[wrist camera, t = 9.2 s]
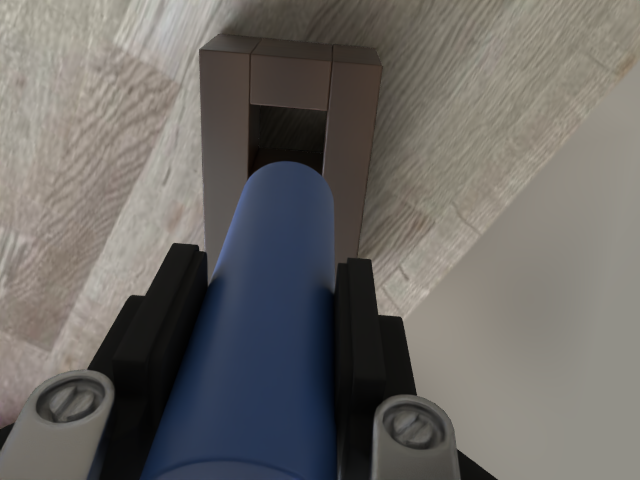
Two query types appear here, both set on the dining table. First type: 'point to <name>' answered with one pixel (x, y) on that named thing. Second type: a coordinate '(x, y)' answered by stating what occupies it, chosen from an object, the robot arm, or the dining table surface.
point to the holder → (293, 92)
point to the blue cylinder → (260, 345)
